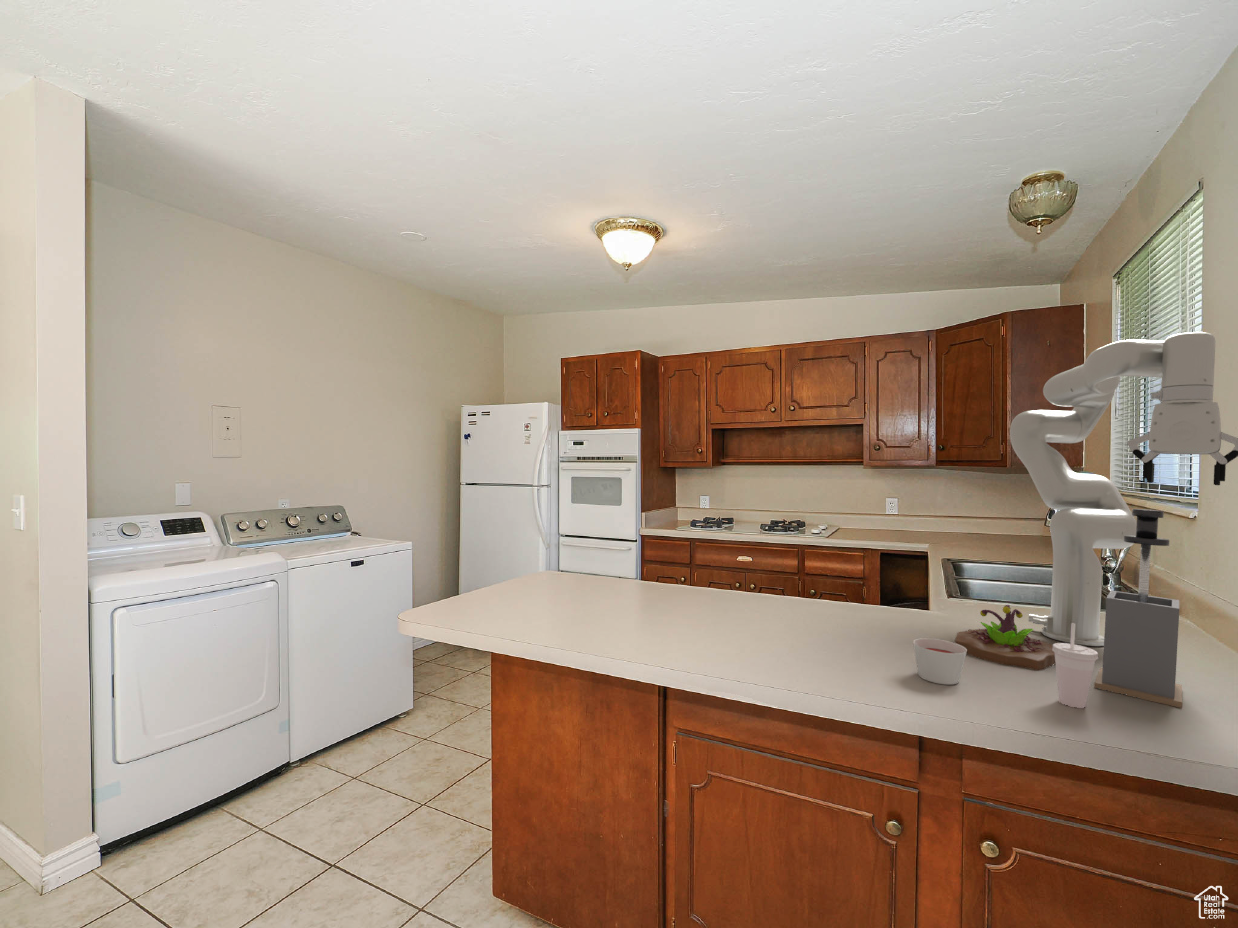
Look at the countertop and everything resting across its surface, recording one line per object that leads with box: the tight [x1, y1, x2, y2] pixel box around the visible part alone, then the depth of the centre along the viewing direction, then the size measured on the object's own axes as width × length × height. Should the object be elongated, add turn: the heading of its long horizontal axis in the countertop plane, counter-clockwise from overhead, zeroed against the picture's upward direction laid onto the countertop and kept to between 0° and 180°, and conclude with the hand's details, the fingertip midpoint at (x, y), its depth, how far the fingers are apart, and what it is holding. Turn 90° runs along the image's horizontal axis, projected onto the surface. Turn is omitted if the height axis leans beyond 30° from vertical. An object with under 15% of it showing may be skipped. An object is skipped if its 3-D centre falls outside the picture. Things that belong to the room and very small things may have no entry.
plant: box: [954, 604, 1055, 671], centre depth 133 cm, size 20×20×11 cm
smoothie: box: [1052, 623, 1099, 709], centre depth 105 cm, size 6×6×14 cm
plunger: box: [1124, 508, 1170, 603], centre depth 113 cm, size 7×7×24 cm
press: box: [1093, 590, 1183, 709], centre depth 113 cm, size 12×12×17 cm
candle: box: [913, 637, 967, 686], centre depth 115 cm, size 9×9×6 cm
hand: (1182, 483), depth 119 cm, fingers open, 9 cm apart
